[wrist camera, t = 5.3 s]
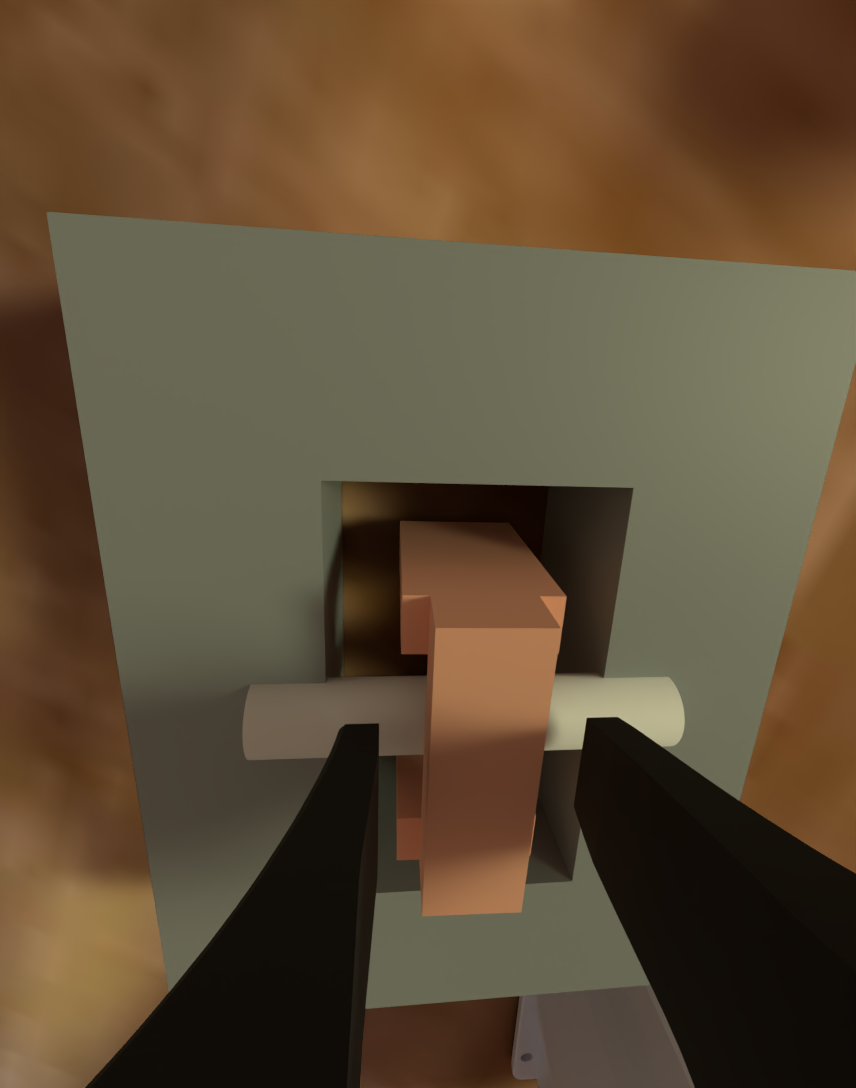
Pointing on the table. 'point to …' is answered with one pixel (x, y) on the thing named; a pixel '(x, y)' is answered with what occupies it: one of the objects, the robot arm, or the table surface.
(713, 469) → the grey panel with window
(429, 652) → the orange arch block
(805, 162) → the table surface
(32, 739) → the table surface
